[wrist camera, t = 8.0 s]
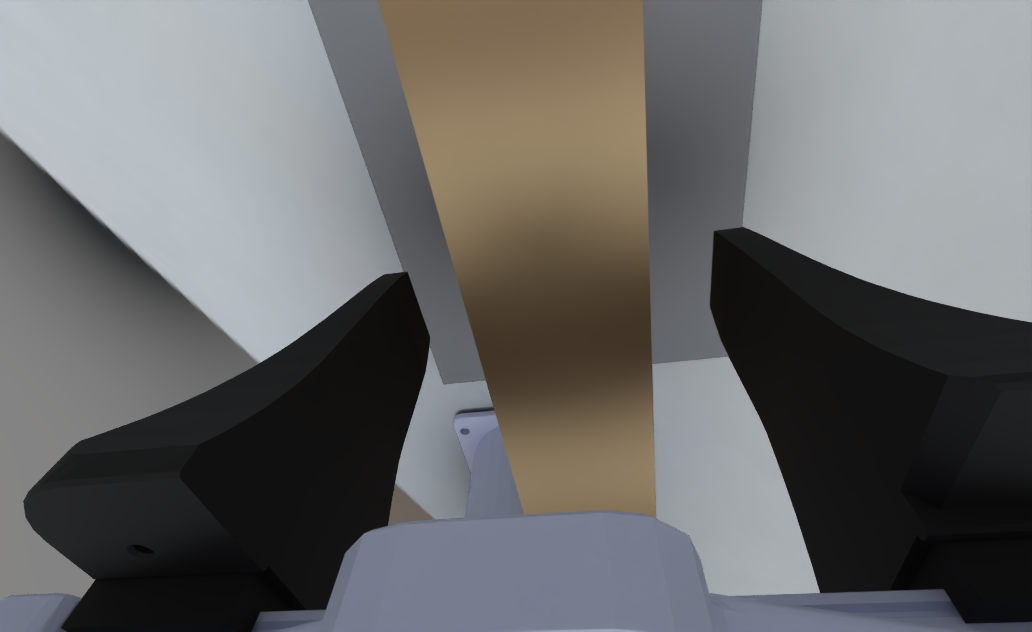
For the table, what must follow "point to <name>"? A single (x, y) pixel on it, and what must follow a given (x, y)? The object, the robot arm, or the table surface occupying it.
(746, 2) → the peg stand
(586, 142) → the oak bar
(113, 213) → the table surface
